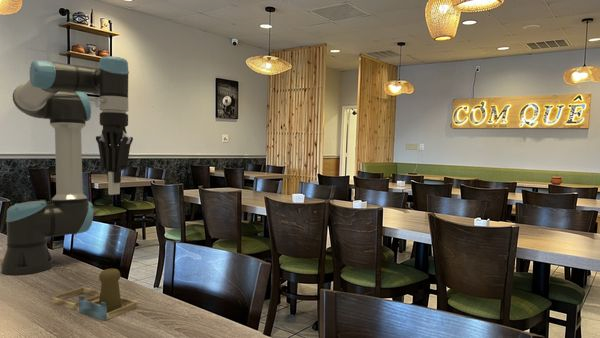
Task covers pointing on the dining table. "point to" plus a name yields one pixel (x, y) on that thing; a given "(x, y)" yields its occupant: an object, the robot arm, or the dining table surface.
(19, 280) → the dining table surface
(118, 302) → the cork
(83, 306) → the caddy
